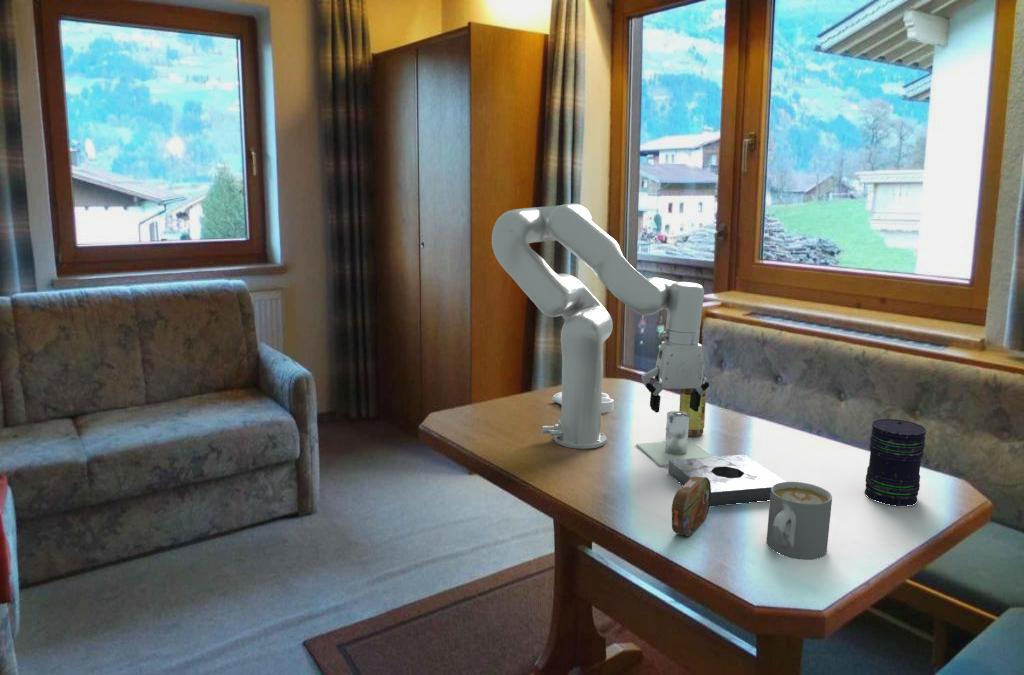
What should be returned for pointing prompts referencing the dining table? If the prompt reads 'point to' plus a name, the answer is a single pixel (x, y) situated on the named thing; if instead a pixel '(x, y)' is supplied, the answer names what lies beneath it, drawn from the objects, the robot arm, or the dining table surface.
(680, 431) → the aluminium plug
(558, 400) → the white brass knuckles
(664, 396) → the dining table surface
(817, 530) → the coffee mug
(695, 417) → the sauce bottle
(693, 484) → the tin
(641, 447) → the sage mat
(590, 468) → the dining table surface
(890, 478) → the storage jar
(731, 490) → the plate
